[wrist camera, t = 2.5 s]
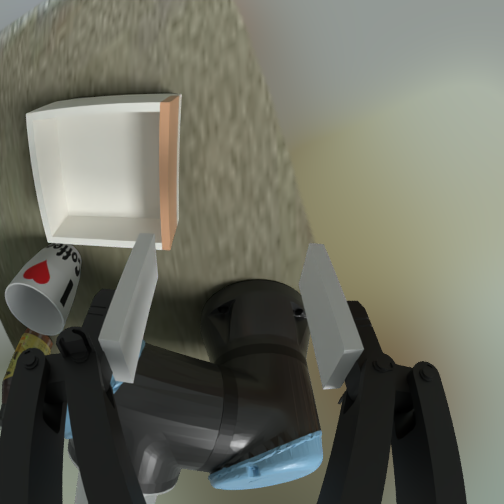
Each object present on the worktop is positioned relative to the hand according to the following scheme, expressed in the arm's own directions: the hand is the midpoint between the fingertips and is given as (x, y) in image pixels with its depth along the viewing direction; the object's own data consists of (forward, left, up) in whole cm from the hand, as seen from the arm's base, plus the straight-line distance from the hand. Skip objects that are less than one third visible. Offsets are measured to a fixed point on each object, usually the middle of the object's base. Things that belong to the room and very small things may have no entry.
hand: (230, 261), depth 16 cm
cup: (+21, +14, -17) cm, 31 cm away
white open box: (+11, 0, -17) cm, 20 cm away
